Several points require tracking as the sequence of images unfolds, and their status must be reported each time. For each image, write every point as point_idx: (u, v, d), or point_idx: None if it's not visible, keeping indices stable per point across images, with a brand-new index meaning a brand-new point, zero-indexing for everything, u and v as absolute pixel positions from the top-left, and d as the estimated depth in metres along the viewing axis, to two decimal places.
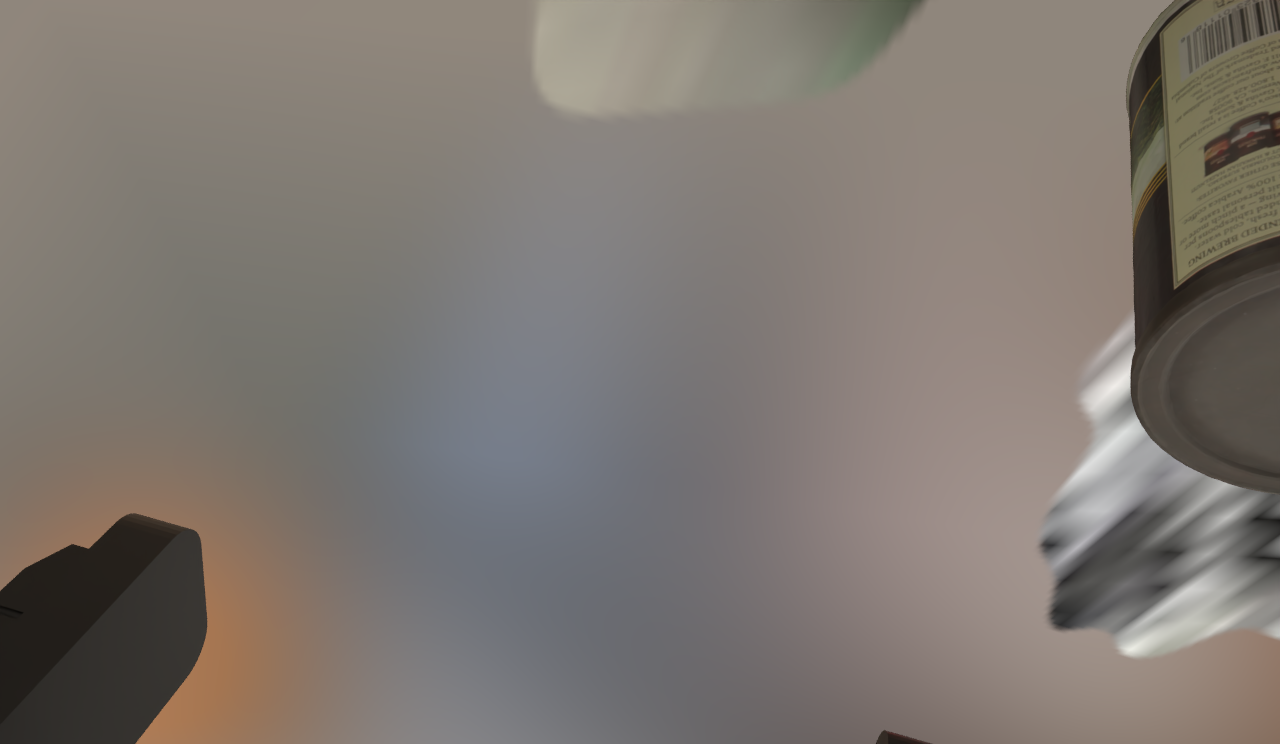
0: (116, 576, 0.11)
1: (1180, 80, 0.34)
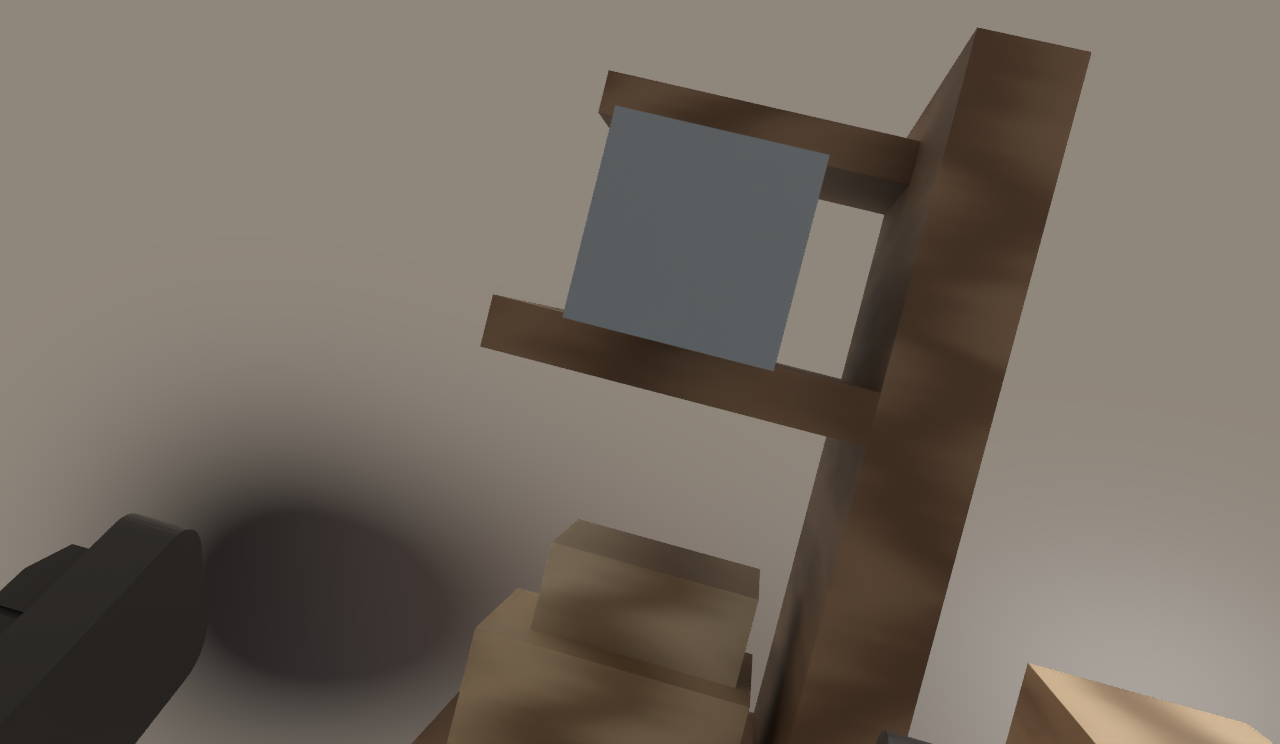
0: (116, 576, 0.11)
1: None
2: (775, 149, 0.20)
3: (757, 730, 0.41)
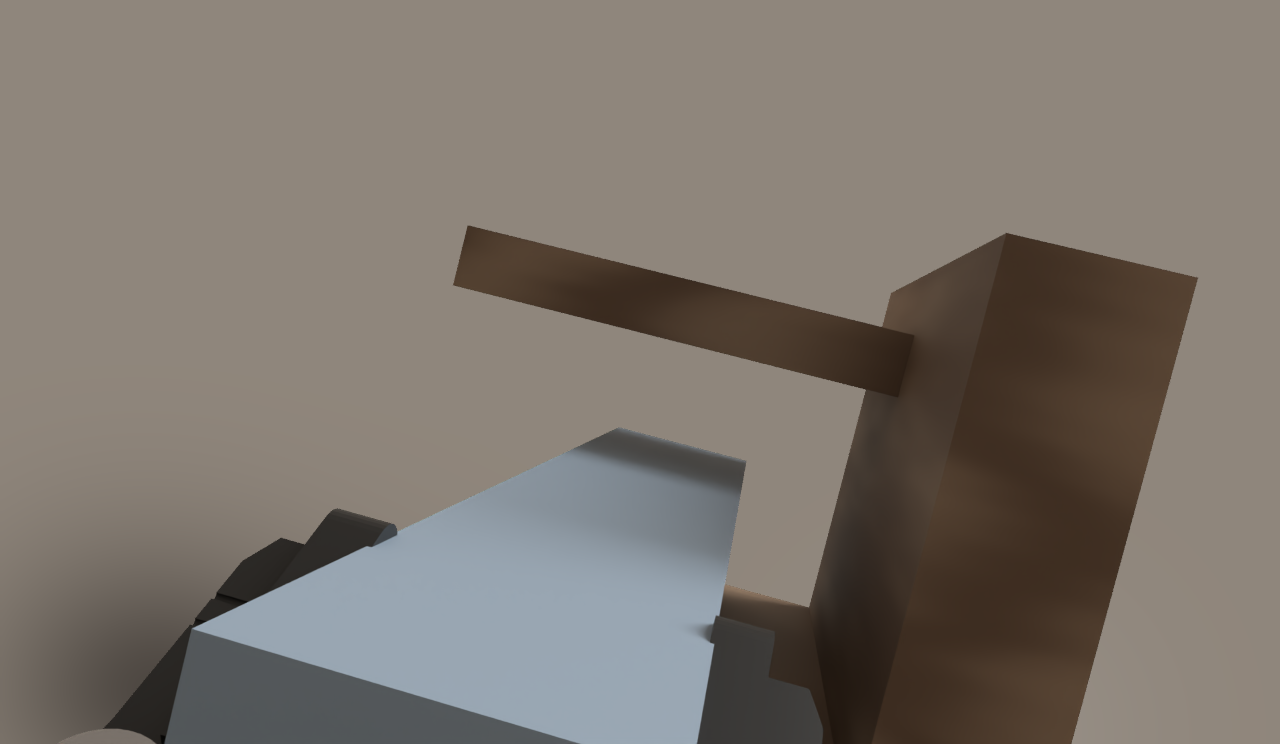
0: None
1: None
2: None
3: None
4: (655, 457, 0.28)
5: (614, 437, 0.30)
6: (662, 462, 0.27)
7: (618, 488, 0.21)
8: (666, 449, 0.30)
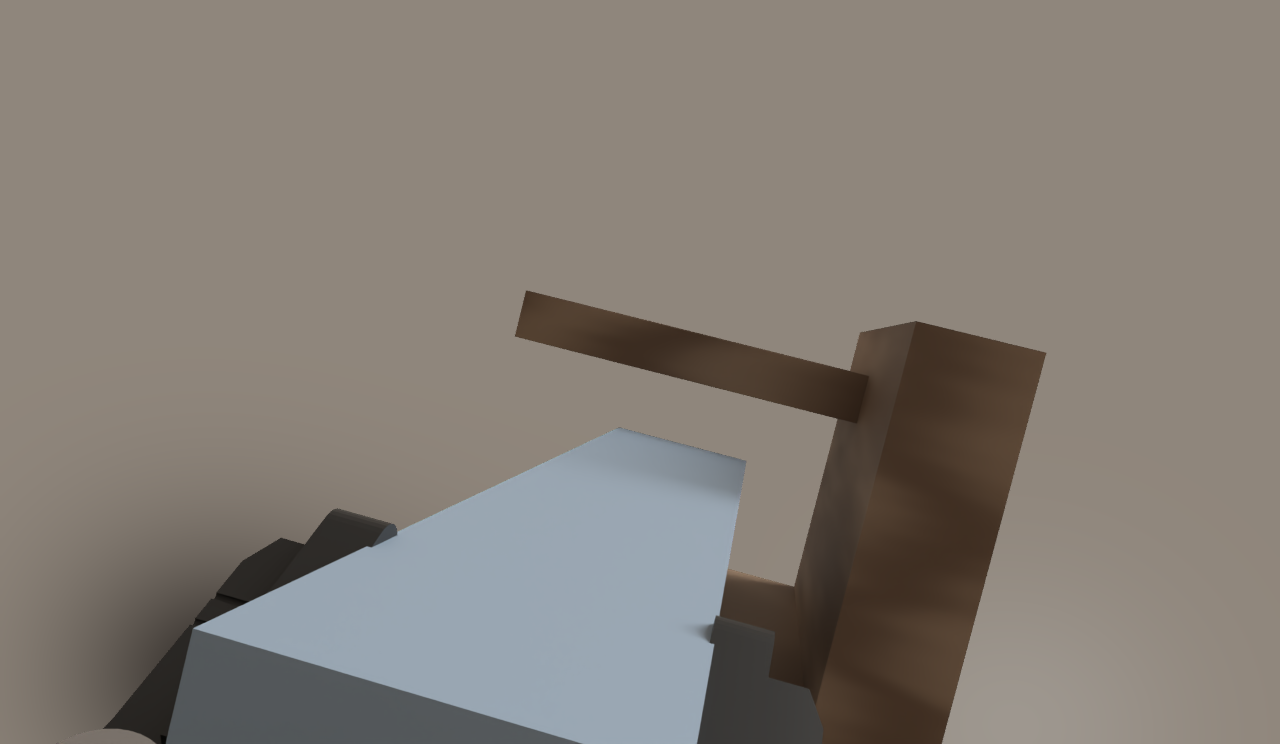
0: None
1: None
2: None
3: None
4: (655, 457, 0.28)
5: (614, 437, 0.30)
6: (662, 462, 0.27)
7: (618, 488, 0.21)
8: (666, 449, 0.30)
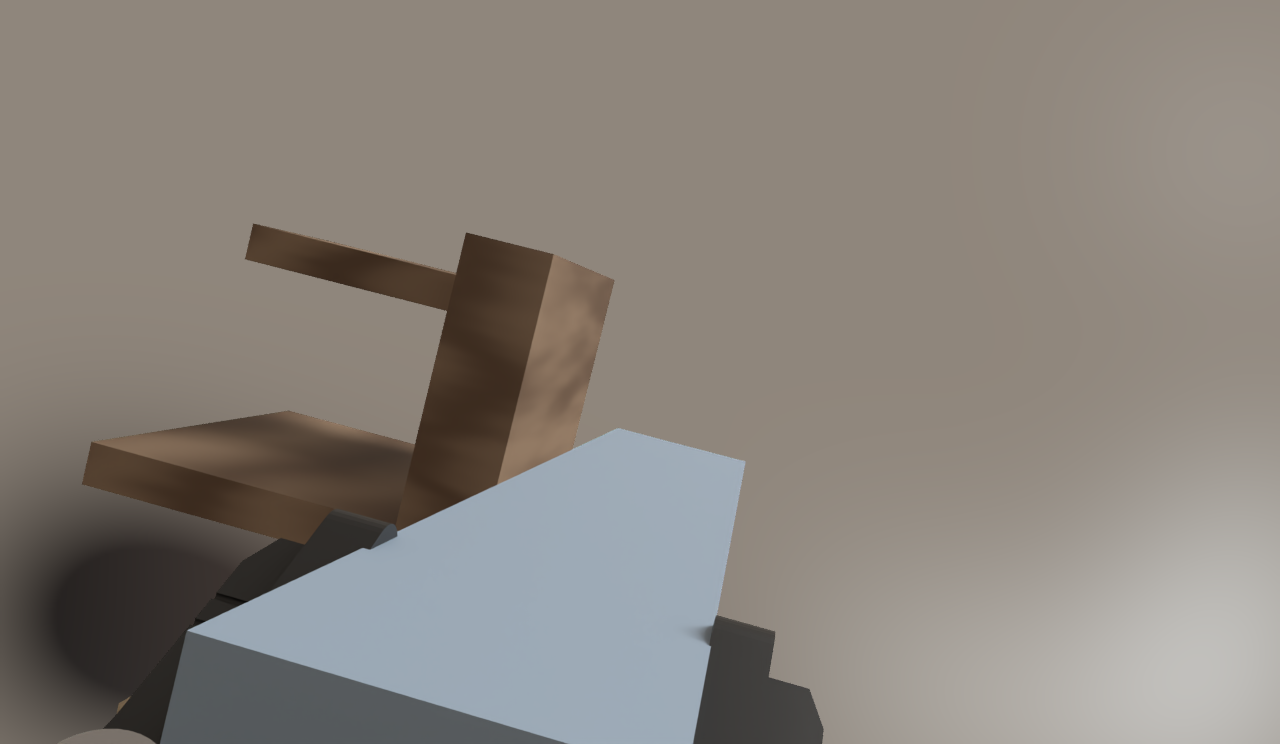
0: None
1: None
2: None
3: None
4: (654, 458, 0.28)
5: (613, 438, 0.30)
6: (661, 463, 0.27)
7: (616, 489, 0.21)
8: (665, 450, 0.30)
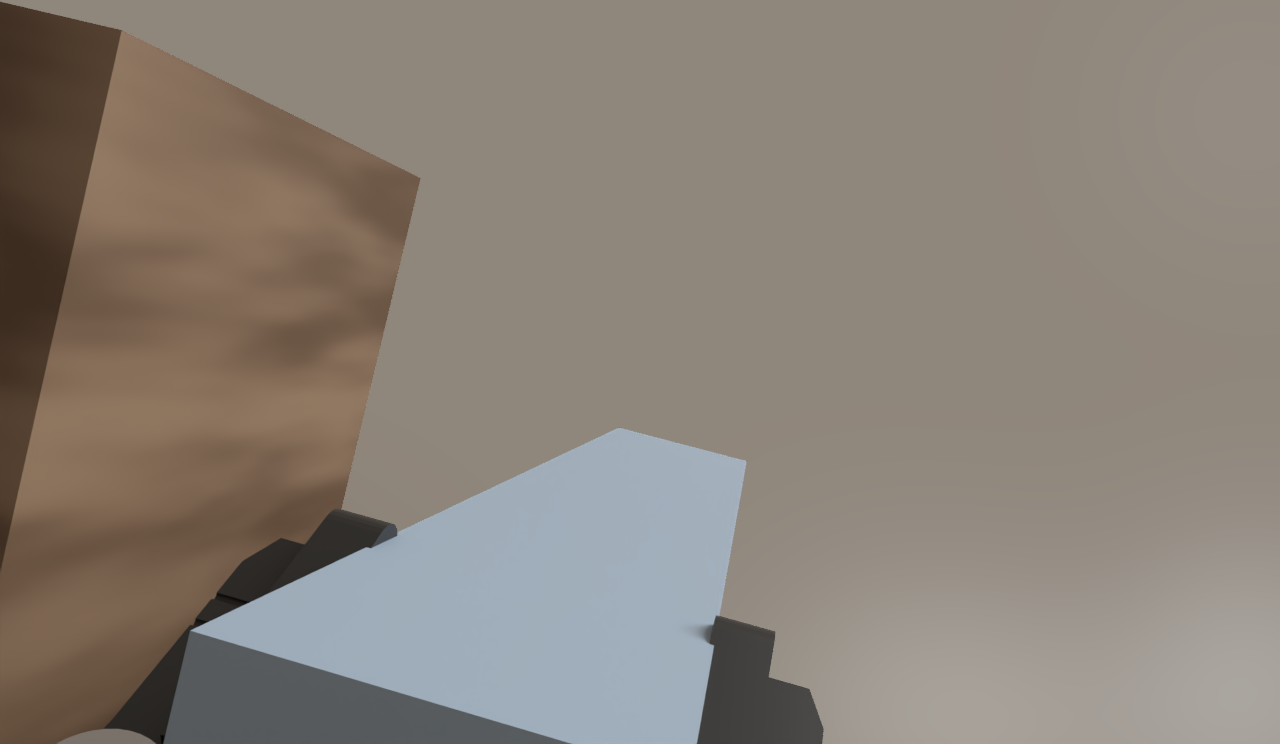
0: None
1: None
2: None
3: None
4: (655, 457, 0.28)
5: (614, 437, 0.30)
6: (662, 462, 0.27)
7: (618, 489, 0.21)
8: (666, 449, 0.30)
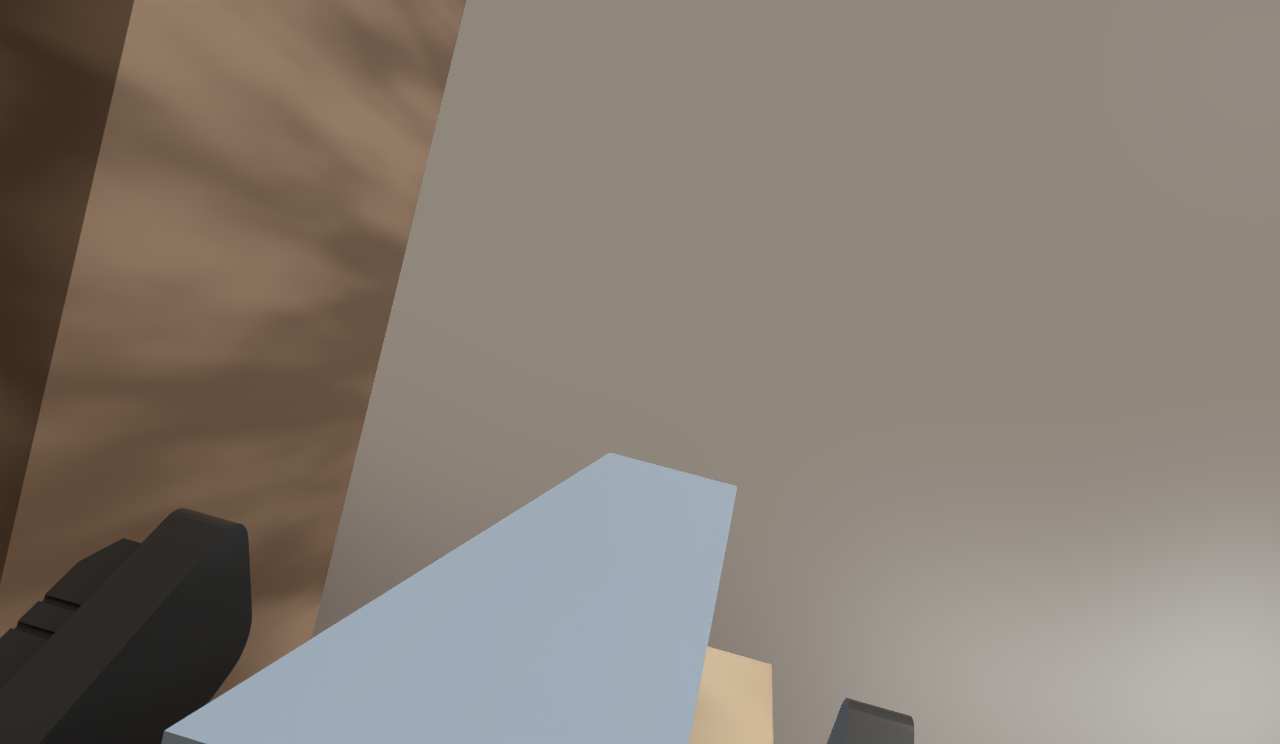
0: (170, 569, 0.11)
1: None
2: None
3: None
4: (645, 487, 0.28)
5: (604, 465, 0.30)
6: (652, 493, 0.27)
7: (605, 528, 0.21)
8: (656, 477, 0.30)
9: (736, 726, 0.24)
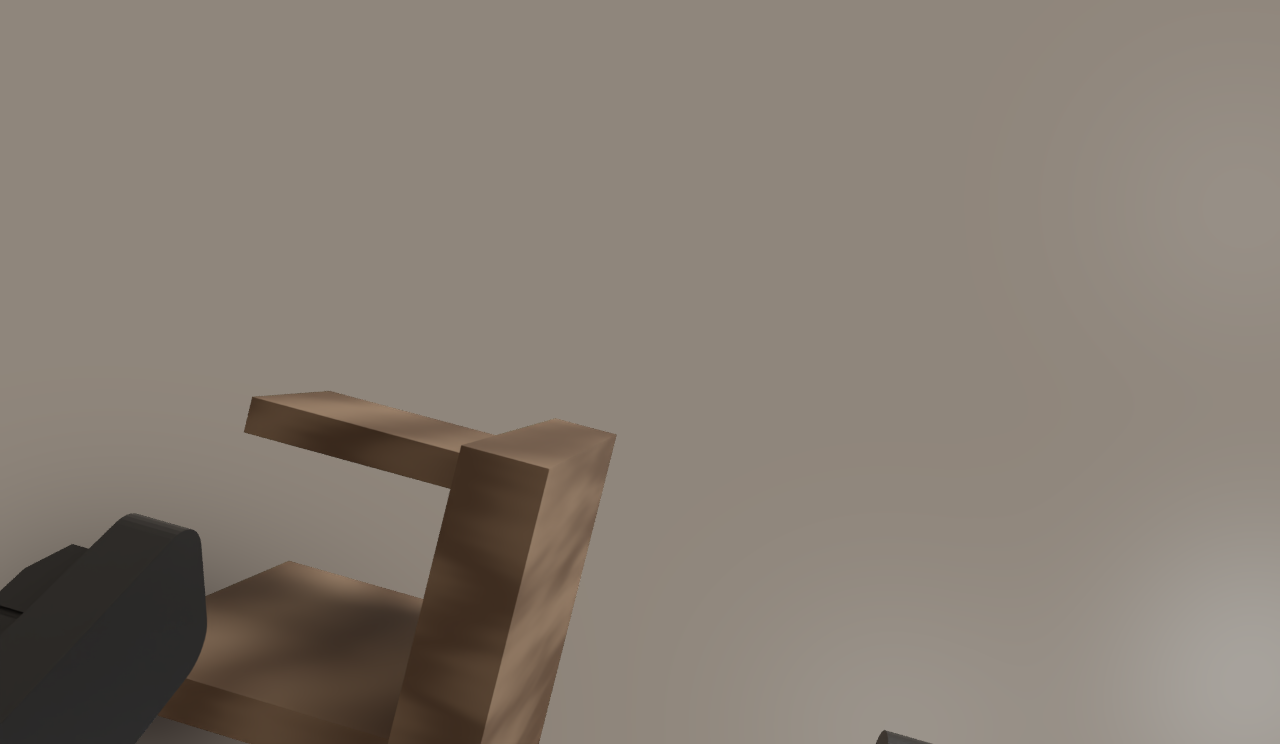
0: (116, 576, 0.11)
1: None
2: None
3: None
4: None
5: None
6: None
7: None
8: None
9: None
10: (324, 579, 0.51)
